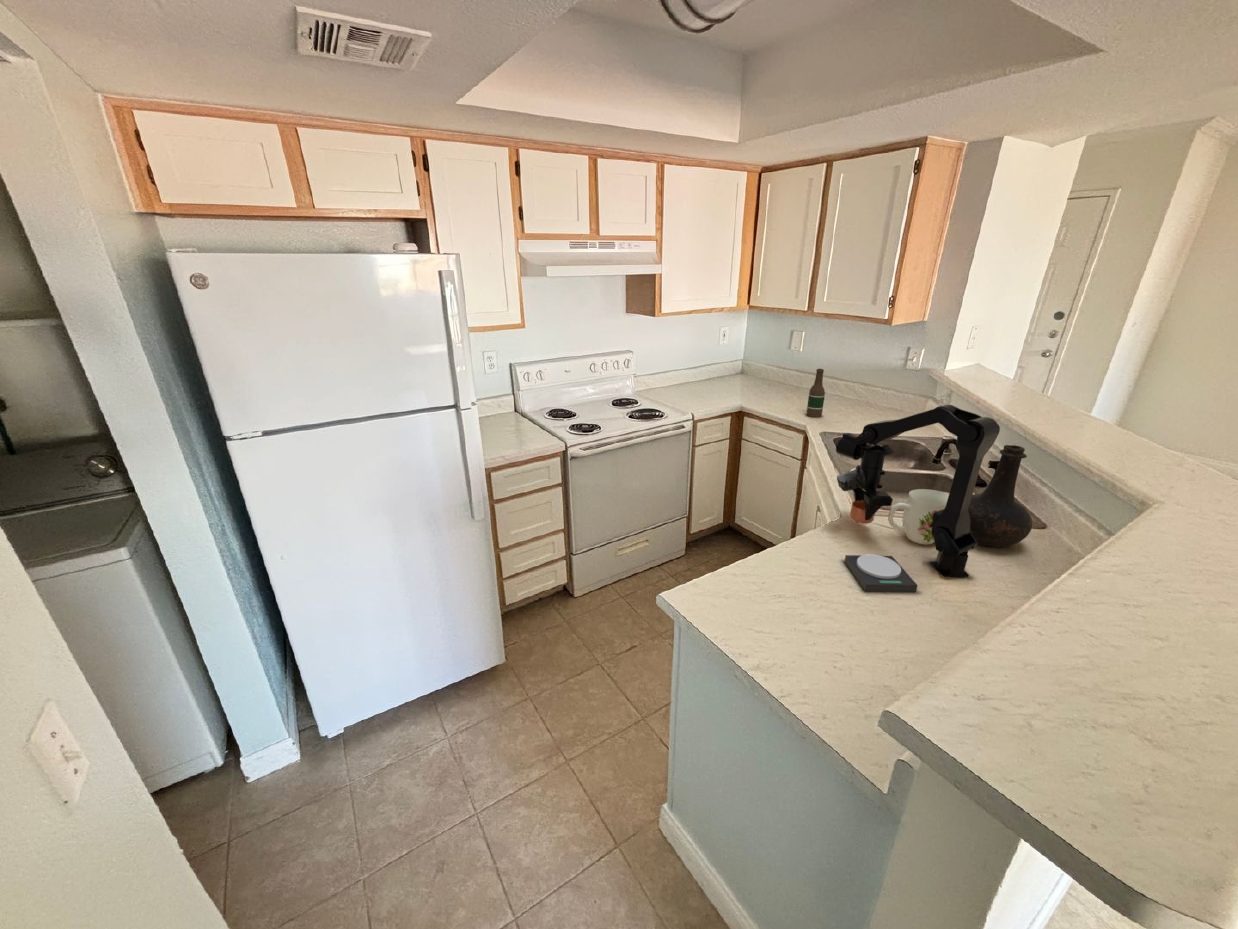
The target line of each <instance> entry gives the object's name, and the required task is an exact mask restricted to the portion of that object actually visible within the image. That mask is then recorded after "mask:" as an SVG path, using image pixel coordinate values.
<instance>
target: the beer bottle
mask: <svg viewBox="0 0 1238 929" xmlns="http://www.w3.org/2000/svg"><path fill="white" fill-rule="evenodd" d="M815 371H816V373H815V378H814V382H813V385H812V386H811V387H810V389H809V392H808V398H807V399H808V400H807V405H806V416H807V417H809V418H816V419H817V418H822V415H823V409H824V403H825V394H826V391H825V388H824V386H823V380H824V372H825V370H824V368H817V369H816V370H815Z"/></svg>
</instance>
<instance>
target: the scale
mask: <svg viewBox="0 0 1238 929" xmlns="http://www.w3.org/2000/svg"><path fill="white" fill-rule="evenodd" d="M844 563H845V565H846V566H847V568H848V569H849V571H850V572H851V574H852V575H853V577H854V578H855V579H856V581H857V582H858V584H859V585H860V587H861V588H862V590H863V591H864V592H880V593H881V592H882V593H883V592H884V593H885V592H886V593H888V592H892V593H893V592H894V593H916V592H917V588H918V584H917V583H916V581H914V579H913V578H912V577H911V576H910V575H909V574H908V572H907V571H906V570H905V569H904V568H903V566H902V565H901V564H900V563H899V562H898V561H897V560H896V559H895V557H894V556H893V555H879V554H871V553H867V554H861V555H860V554H859V555H856V554H855V555H854V554H852V555H851V554H845V556H844Z"/></svg>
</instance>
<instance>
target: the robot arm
mask: <svg viewBox="0 0 1238 929" xmlns="http://www.w3.org/2000/svg"><path fill="white" fill-rule="evenodd" d="M935 424H940V425H941V426H942V427H943V428H944V429H945V430H946V431H947V432H948V433H950V434H952V435H953V436H955V437H956V446H957V450H958V453H959V456H958V458H957V462H956V467H955V470H954V475H953V477H952V481H951V485H950V488H949V489H950V490H949V492H948V493H949V496H948V499H947V503H946V507H945V509H942V510H940V511H937V512H935V513H934V514H933V520H932V523H931V525H930V526H929V527H932V529H931V534H932V536H933V537H934V540H935V542H934V546H935V550H936V551H938V552H937V556H936V558H935V560H930V561H929V564H930V565H931V566H932V568H934V569H935V570H936V571H937V572H938V574H939V575H940V576H941V577H944V578H969V577H970V574H969V573H968V572H967V571H966V570H965V569H966V566H967V563H968V559H969V551H971V550H973V549H975V548H976V546H978V544H979V543H977V541H976V540H975V538H974V536H973V535H972V533H971V532H970V522H971V519H970V516H969V513H968V508H969V505H970V501H971V498H972V495H974V491H975V487H976V484H977V481H978V477H979V473H980V470H981V467H982V463H983V460H984V457H985V455H986V454H987V453H989V451H990V449H991V448H992V447H993V446H994V444H995V442H996V441H997V438H998V436H999V434H1000V432H1001V427H1000V425H999V424H998V422H997V421H996V420H995V419H994V418H992V417H989V416H981V415H979V414H977V413H975V412H971V411H968V410H965V409H962V408H960V407H958V406H955V405H953V404H943V405H939V406H936V407H934V408H933V409H929V410H926V411H922V412H919V413H916V414H913V415H909V416H905V417H902V418H898V419H886V420H881V421H876V422H872V423H867V424H865V425H864V426H863V429H862V431H861V433H860V434H858V435H855V434H852V433H850V432H844V433H843V434H842V437H841V438H840V439H839V440H838V442H837V444H836V445H835V453H836V454H838V455H840V456H842V457H846V458H847V459H848V458H849V459H852V460H854V461H858V460H860V464H857V465H856V466H855V469H854V470H852V471H851V470H848V471H847V472H845V473H841V474H838V475H837V476H836V480H837V484H838V487H839V488H840V489H841V491H843V492H849V491H852V495H853V499H854V500H853V501H863V502H864V503H865V520H870V519H871V517H872V516H873V515H874V514H875V515H876V513H877V512H878V511H879V510H880V509H881V508H882V507H892V506H893V501H894V498H893V497H891V496H890V494H888V492H886V491H885V490H878V489H882V488H883V484H882V483H881V478H882V476H885V474H886V470H884V469H883V468H884V462H885V458H886V456H889V455H892V454H893V455H894V453H895V451H894V450H893V448H891V446H890V444H884V445H881V443H885V442H889V441H890V440H892V439H894V438H897V437H898V436H900V435H902V434H904V433H906V432H910V431H913V430H916V429H921V428H925V427H928V426H932V425H935Z"/></svg>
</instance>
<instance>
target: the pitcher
mask: <svg viewBox="0 0 1238 929" xmlns="http://www.w3.org/2000/svg"><path fill="white" fill-rule="evenodd" d="M948 496H949V492H945V491H940V490H936V489H926V488H918V489H916V488H915V489H912V490H910V491H909V492H908V502H907V503H904V502H897V503H895V504H894V505H892V506H891V508H890V509H889V512H888V515H887V520H888V524H889V525H890V526H891V527H892V528H893V529H894V530H896V531H899V532H902V533H905V535H906V538H908V540H910V541H911V542H913V543H916V544H919V545H932V544H933V543H935V540H934V537H933V536H932V534H931V529H932V527H929V526H930V525H931V523H932V520H933V514H934V513H935V512H937V511H940V510H942V509H945V507H946V503H947V499H948ZM901 508H903V512H902V520H901V521H902V525H898V524H897V523H895V520H894V514H895V512H896V511H897V510H898V509H901Z"/></svg>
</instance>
